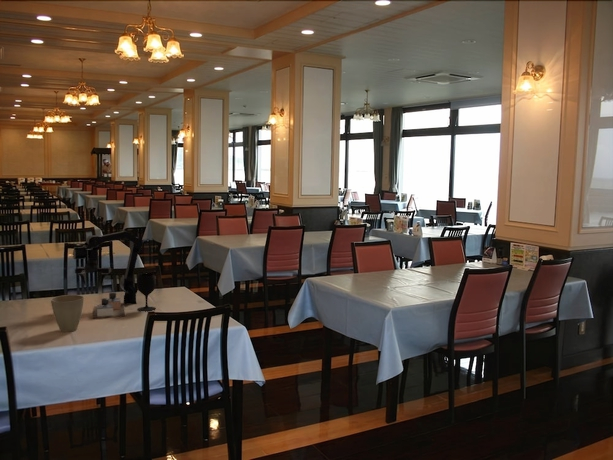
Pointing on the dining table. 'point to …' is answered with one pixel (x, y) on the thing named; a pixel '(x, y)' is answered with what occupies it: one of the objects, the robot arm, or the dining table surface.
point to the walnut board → (116, 313)
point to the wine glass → (146, 288)
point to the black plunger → (105, 301)
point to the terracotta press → (115, 303)
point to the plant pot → (67, 311)
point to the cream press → (105, 310)
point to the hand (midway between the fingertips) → (93, 285)
